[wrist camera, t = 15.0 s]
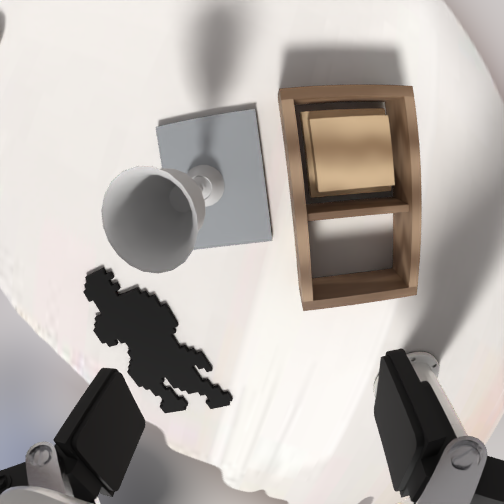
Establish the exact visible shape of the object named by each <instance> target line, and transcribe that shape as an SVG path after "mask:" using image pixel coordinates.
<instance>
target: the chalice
mask: <svg viewBox="0 0 504 504" xmlns="http://www.w3.org/2000/svg"><path fill="white" fill-rule="evenodd" d="M223 192H224V180H223V177H222V175H221V174H220V172H219V171H218V170H216V169H215V168H214V167H211V166H209V165H199V166H195V167H193V168H192V169H191V170H189V171H188V173H187V174H186V173H184V172H181V171H179V170H176V169H169V168H162V169H158V168H155V167H153V166H136V167H133V168H130V169H128V170H125V171H123V172H121V173H120V174H119V175H118V176H117V177H116V178H115V179H114V180H113V181H112V182H111V183H110V185H109V187H108V189H107V191H106V193H105V195H104V199H103V205H102V220H103V227H104V230H105V233H106V236H107V238H108V241H109V243H110V244H111V246H112V247H113V249H114V250H115V251H116V253H117V254H118V255H119V256H120V257H121V258H122V259H123V260H124V261H126V262H127V263H128V264H129V265H131V266H133V267H135V268H137V269H139V270H141V271H144V272H151V273H162V272H167V271H171V270H173V269H175V268H176V267H178V266H179V265H181V264H182V263H184V262H185V261H186V259H187V258H188V256H189V255H190V254H191V252H192V251H193V249H194V245H195V242H196V238H197V234H198V231H199V230H200V229H201V227H202V225H203V221H204V218H205V207H207V206H211V205H213V204H215V203H216V202H218V201H219V199H220V198H221V197H222V195H223Z"/></svg>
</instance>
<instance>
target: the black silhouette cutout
mask: <svg viewBox="0 0 504 504" xmlns="http://www.w3.org/2000/svg"><path fill="white" fill-rule="evenodd" d="M85 278H86V280H87V283H85V284H84V285H85V287H86V290H85V291H83V292H84V294H85V296H86V297H87V299H88V301H89V302H90V301H94V302H95V304H96V306H97V307H98V309H99V311H100V312H101V315H98V316H96V317H95V320H96V321H97V322H95V324H94V325H95V327H96V328H95V329H94V330H93V331H94V332H95V334H96V335H97V337H98V338H99V340H100V341H101V343H102V344H103V343H107V345H108V346H109V347H111V346H114V345H117V344H118V341H117V340H116V339H118V340H119V341H120V343H126V344H127V346H128V347H129V349H130V350H128V352H127V353H128V354H129V356H130V357H131V360H130V361H129V362H130V365H129V366H128V367H129V370H128V371H127V372H128V374H129V375H130V376H131V378H132V379H133V380H134V381H135V383H136V384H137V385H138V386H139V387H142V386H143V387H144V388H145V390H148V389H150V390H151V391H152V393H153V394H154V395H155V396H159V395H160V397H161V398H162V399H163V400H162V402H161V405H160V408H161V409H162V410H163V411H164V413H170V412H176V411H182V410H186V406H188V403H187V401H186V400H185V399H184V397H178V396H177V395H176V394H175V392H174V391H173V390H172V388H171V387H168V388H166V387H165V386H164V385H163V383H162V382H164V380H165V379H164V377H166V379H167V380H168V381H169V383H170V384H171V385H172V387H173V388H179V389H180V390H181V391H185V390H186V391H187V393H188V394H191V393H196V392H198V393H199V394H200V396H201V395H206V396H207V398H208V399H209V400H206V404H207V405H208V406H209V407H210V409H213V408H218V407H223V406H228V405H230V402H229V401H232V399H233V398H232V397H231V395H230V394H229V392H228V391H227V392H222V390H221V389H220V387H219V386H218V385H217V386H212V384H211V383H210V381H209V380H208V379H205V380H202V378H201V377H200V375H199V374H198V372H197V371H196V369H195V368H194V366H195V365H196V366H197V367H198V369H202V368H204V369H205V370H206V372H209V371H212V369H213V368H212V367H211V365H210V364H209V362H208V361H207V359H206V357H205V356H204V354H203V353H202V351H200V352H197V353H196V351H195V350H194V348H192V349H189V350H188V348H187V347H186V345H184V346H180V345H179V344H178V342H177V341H176V339H175V337H174V336H173V334H174V333H176V329H175V328H174V327H177V326H178V322H177V321H176V319H175V317H174V316H173V314H172V312H171V311H170V309H169V307H168V306H167V304H163V305H161V304H160V303H159V301H158V299H157V298H156V296H155V294H154V295H152V296H149V295H148V293H147V291H145V292H142V293H141V291H140V290H139V288H135V289H133V290H130V291H128V292H125V293H123V294H120V295H119V294H118V292H117V290H119V289H120V288H121V287H120V286H119V284H118V282H117V283H115V284H113V283H112V282H111V280H110V279H113V278H114V275H113V273H112V272H109V273H106V271H105V269H104V268H102V269H100V270H98V271H96V272H94V273H92V274H90V275H88V276H86V277H85Z"/></svg>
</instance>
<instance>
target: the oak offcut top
mask: <svg viewBox="0 0 504 504" xmlns="http://www.w3.org/2000/svg"><path fill="white" fill-rule="evenodd" d="M307 122H308V129H309V136H310V143H311V151H312V158H313V167H314V175H315V184H316V190H317V191H318V192H326V191H336V190H346V189H356V188H367V187H378V186H390V185H395V181H394V166H393V154H392V144H391V135H390V126H389V118H388V115H374V116H349V117H333V118H320V119H309V120H308V121H307Z"/></svg>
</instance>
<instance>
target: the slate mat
mask: <svg viewBox="0 0 504 504" xmlns="http://www.w3.org/2000/svg"><path fill="white" fill-rule="evenodd" d="M156 132H157V139H158V145H159V151H160V158H161V164H162V168H169V169H176V170H179V171H181V172H184V173H186V174H187V173H188V171H189V170H191V169H192V168H193V167H195V166H199V165H209V166H211V167H214V168H215V169H216V170H218V171H219V172H220V174H221V175H222V177H223V180H224V192H223V195H222V197H221V198H220V199H219V201H218V202H216V203H215V204H213V205H211V206H207V207H205V218H204V221H203V225H202V227H201V229H200V230H199V231H198V234H197V238H196V242H195V245H194V249H193V250H195V249H204V248H213V247H221V246H230V245H239V244H248V243H257V242H266V241H272V233H271V225H270V217H269V209H268V201H267V193H266V185H265V178H264V170H263V162H262V155H261V148H260V140H259V133H258V126H257V119H256V112H255V109H250V110H243V111H236V112H229V113H223V114H217V115H211V116H206V117H200V118H195V119H190V120H185V121H180V122H176V123H171V124H167V125H162V126H158V127H156Z"/></svg>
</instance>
